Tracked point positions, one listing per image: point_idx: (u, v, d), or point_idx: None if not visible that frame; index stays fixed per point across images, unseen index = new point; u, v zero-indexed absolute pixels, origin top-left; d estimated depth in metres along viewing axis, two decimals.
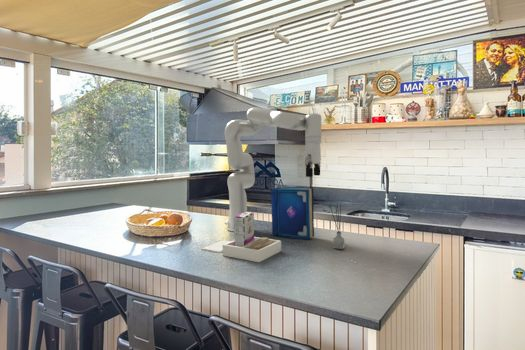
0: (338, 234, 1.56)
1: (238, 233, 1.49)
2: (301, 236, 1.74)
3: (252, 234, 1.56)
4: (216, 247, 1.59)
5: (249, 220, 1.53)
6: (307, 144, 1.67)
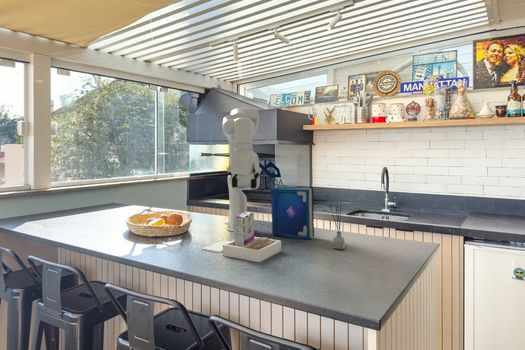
0: (338, 234, 1.56)
1: (238, 233, 1.49)
2: (301, 236, 1.74)
3: (252, 234, 1.56)
4: (216, 247, 1.59)
5: (249, 220, 1.53)
6: (251, 152, 1.48)
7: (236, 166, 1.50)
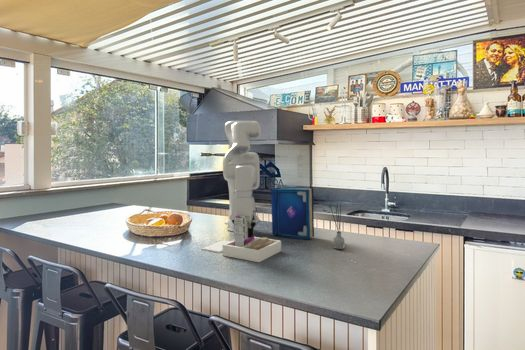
0: (338, 234, 1.56)
1: (238, 233, 1.49)
2: (301, 236, 1.74)
3: None
4: (216, 247, 1.59)
5: None
6: (251, 200, 1.49)
7: (236, 213, 1.52)
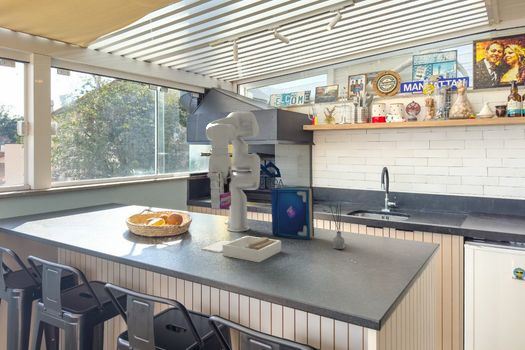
0: (338, 234, 1.56)
1: (214, 188, 1.55)
2: (301, 236, 1.74)
3: None
4: (216, 247, 1.59)
5: None
6: (226, 156, 1.56)
7: (213, 169, 1.58)
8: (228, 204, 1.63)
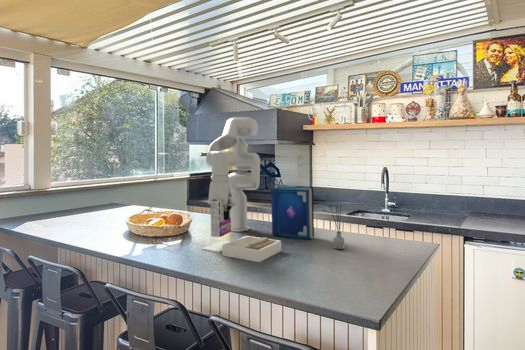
0: (338, 234, 1.56)
1: (214, 216, 1.56)
2: (301, 236, 1.74)
3: None
4: (216, 247, 1.59)
5: None
6: (227, 184, 1.57)
7: (213, 197, 1.59)
8: (228, 231, 1.63)
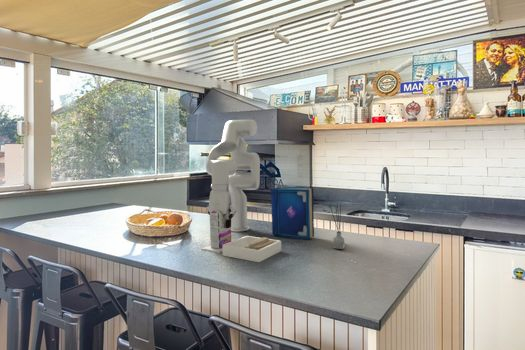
0: (338, 234, 1.56)
1: (213, 227, 1.57)
2: (301, 236, 1.74)
3: (228, 229, 1.64)
4: None
5: None
6: (227, 193, 1.57)
7: (213, 206, 1.60)
8: (228, 242, 1.64)
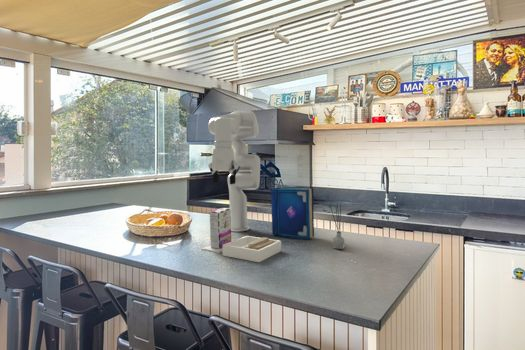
0: (338, 234, 1.56)
1: (213, 227, 1.57)
2: (301, 236, 1.74)
3: (228, 229, 1.64)
4: None
5: (225, 215, 1.61)
6: (230, 150, 1.57)
7: (216, 163, 1.60)
8: (228, 242, 1.64)
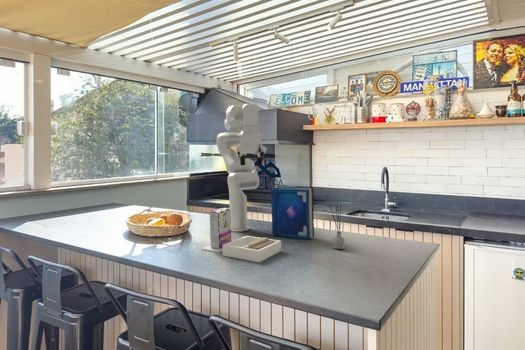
0: (338, 234, 1.56)
1: (213, 227, 1.57)
2: (301, 236, 1.74)
3: (228, 229, 1.64)
4: None
5: (225, 215, 1.61)
6: (257, 133, 1.69)
7: (244, 146, 1.72)
8: (228, 242, 1.64)
